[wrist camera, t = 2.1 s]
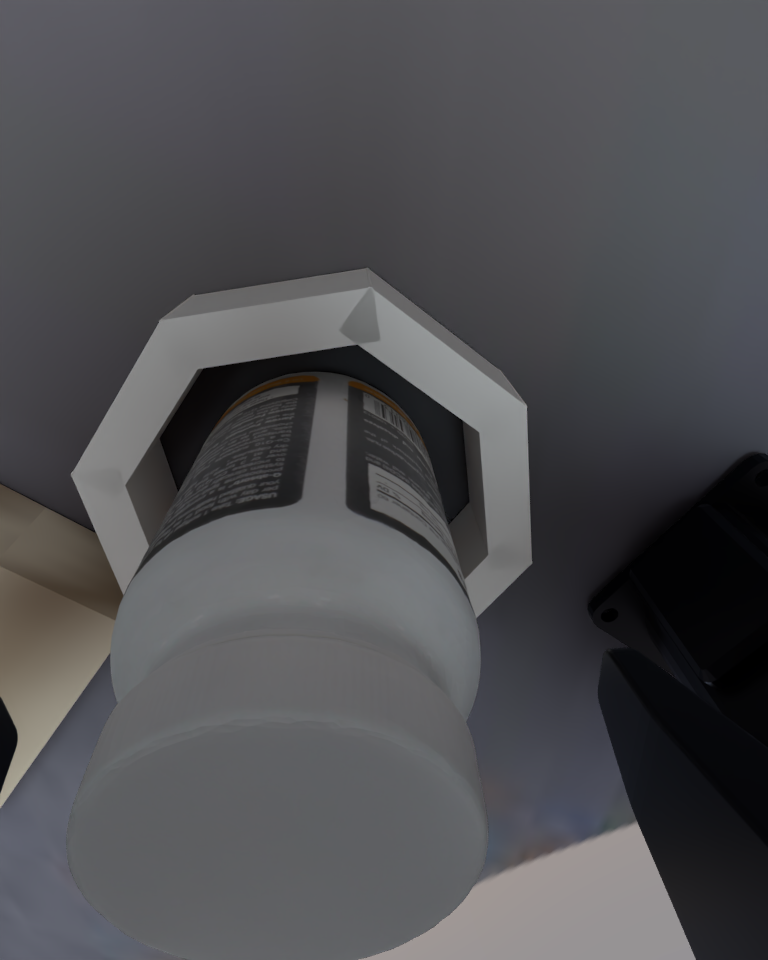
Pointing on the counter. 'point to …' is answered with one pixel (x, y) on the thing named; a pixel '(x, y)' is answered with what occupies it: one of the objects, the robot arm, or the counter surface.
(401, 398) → the counter surface
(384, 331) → the octagonal ring
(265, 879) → the pill bottle
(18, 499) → the socket plate
